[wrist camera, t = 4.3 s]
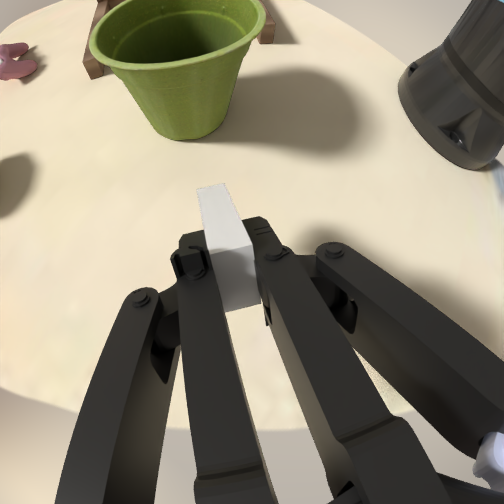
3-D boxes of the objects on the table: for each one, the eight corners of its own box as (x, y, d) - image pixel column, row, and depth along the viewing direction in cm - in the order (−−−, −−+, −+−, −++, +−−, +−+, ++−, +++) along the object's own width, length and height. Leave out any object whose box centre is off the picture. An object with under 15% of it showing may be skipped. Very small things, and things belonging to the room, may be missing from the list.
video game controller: (15, 67, 28) (-17, 57, 22) (30, 44, 27) (-1, 31, 20) (23, 92, 27) (-14, 82, 20) (40, 65, 26) (3, 51, 19)
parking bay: (272, 43, 28) (277, 11, 23) (91, 79, 26) (77, 51, 21) (240, -14, 31) (242, -38, 27) (103, 13, 29) (96, -10, 24)
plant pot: (229, 180, 24) (230, 83, 13) (107, 149, 24) (55, 66, 13) (268, 83, 26) (284, -8, 15) (162, 63, 26) (145, -20, 16)
